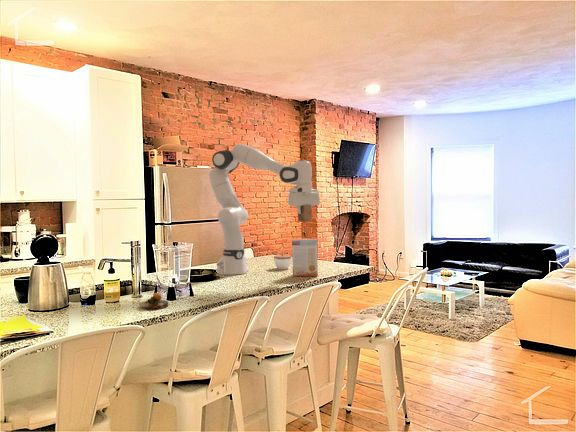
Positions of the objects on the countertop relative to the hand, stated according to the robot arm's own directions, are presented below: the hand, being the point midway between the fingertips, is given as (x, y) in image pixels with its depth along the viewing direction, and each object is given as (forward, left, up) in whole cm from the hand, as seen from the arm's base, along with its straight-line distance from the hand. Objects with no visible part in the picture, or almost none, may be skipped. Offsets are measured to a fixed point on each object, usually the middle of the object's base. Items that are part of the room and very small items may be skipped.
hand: (304, 213), depth 263 cm
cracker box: (0, 0, -35) cm, 35 cm away
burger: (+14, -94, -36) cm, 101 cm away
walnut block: (0, 0, -4) cm, 4 cm away
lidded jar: (-28, +5, -35) cm, 45 cm away
